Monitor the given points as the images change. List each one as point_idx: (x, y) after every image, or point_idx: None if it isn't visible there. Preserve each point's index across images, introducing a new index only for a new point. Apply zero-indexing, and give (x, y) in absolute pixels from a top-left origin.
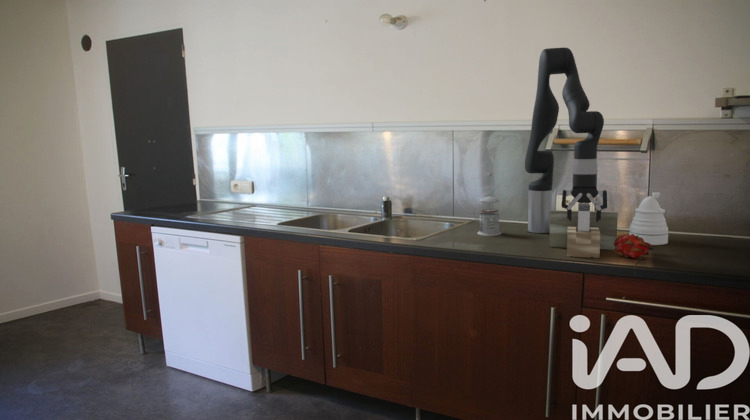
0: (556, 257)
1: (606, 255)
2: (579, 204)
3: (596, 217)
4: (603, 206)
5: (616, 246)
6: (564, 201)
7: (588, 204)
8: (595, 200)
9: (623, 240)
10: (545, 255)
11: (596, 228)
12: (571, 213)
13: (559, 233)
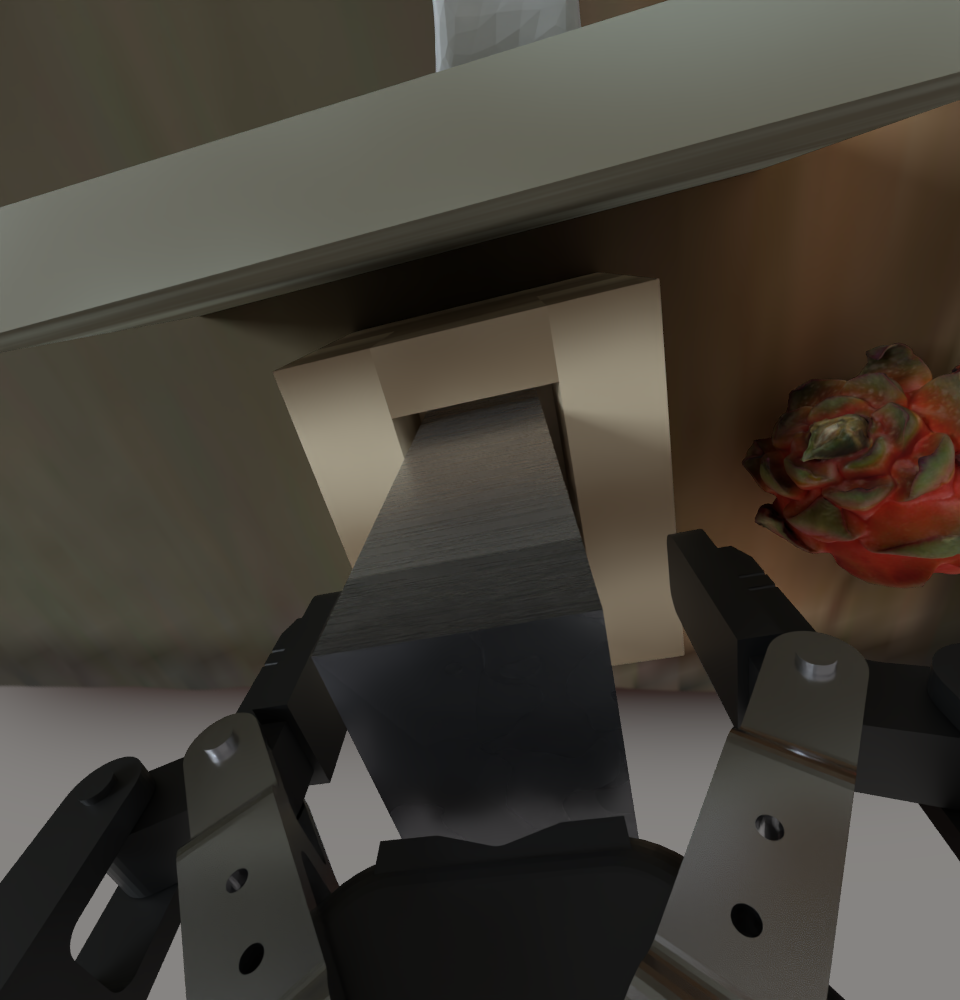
0: None
1: (671, 443)
2: (406, 798)
3: (693, 642)
4: (928, 804)
5: (776, 530)
6: (126, 987)
7: (600, 757)
8: (836, 861)
9: (865, 559)
10: (310, 595)
11: (636, 386)
12: (344, 735)
13: (206, 307)
